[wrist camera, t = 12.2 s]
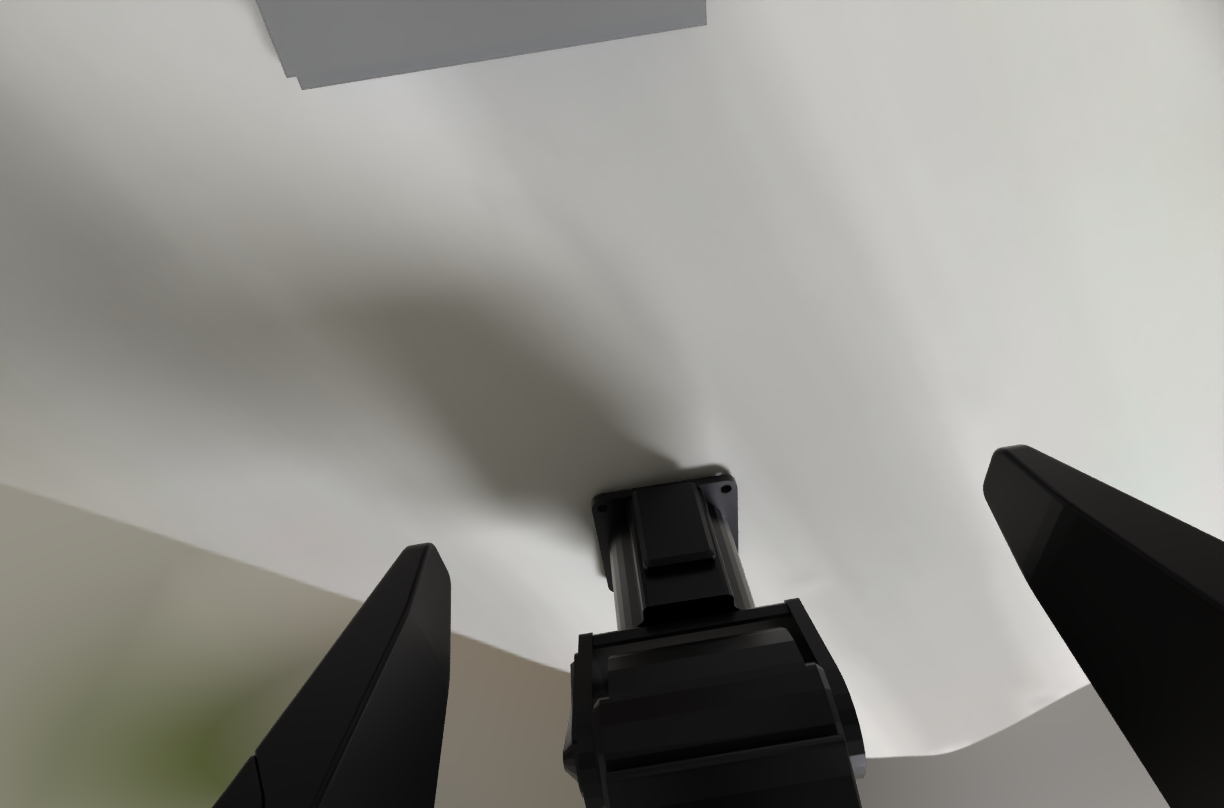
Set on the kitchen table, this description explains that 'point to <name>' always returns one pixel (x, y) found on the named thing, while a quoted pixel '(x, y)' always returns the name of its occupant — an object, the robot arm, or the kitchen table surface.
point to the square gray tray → (448, 31)
